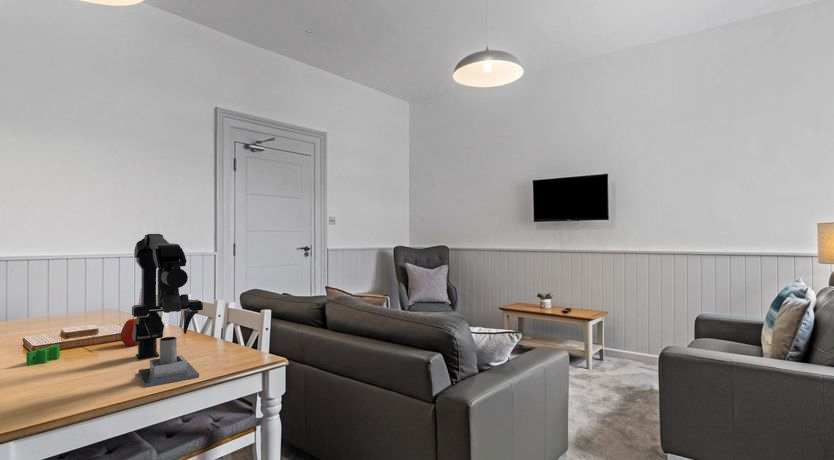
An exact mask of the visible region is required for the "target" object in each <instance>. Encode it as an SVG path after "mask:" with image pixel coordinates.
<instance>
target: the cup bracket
mask: <svg viewBox="0 0 834 460" xmlns="http://www.w3.org/2000/svg"><path fill="white" fill-rule="evenodd" d="M138 375H139V376H140V378H141V381H142V382H143V384H144V387H146V388H149V387H154V386H161V385H164V384H165V385H166V384H170V383H174V382H180V381H186V380H190V379H195V378H200V373H199V372H198V371H197V370H196V369H195V368H194V367H193V366H192V365H191V364H190V362H188V361H187V359H185V357H184V356H182V354H179V355H178V354H177V362H174V363H168V364H162V365H160V357H159V358H154V359H153V358H151V359H149V367H148V368H143V369H138Z"/></svg>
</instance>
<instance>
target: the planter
mask: <svg viewBox="0 0 834 460" xmlns="http://www.w3.org/2000/svg"><path fill="white" fill-rule="evenodd" d="M177 345H178V344H177V337H176V336H167V337H162V338H159V358H160V365H162V364H168V363H174V362H177V356H178V354H177V353H178V352H177V351H178V350H177Z"/></svg>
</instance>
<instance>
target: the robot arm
mask: <svg viewBox="0 0 834 460" xmlns="http://www.w3.org/2000/svg"><path fill="white" fill-rule="evenodd" d="M133 253H134V254H133V255H134V258H135V260H136V261H135V262H136V264H137V265H138V266H139V268H140V269H141V304H134V305H133V306H132V307H131V315H132V316H133V318H134V317H135V319H136V324H135V325H134V328H133V332H132V338H133V340H134V341H135V342H137V341H138V345H137V354H135V357H136V359H137V360H143V359H144V360H145V359H152V358H157V357H160V353H158V350H157V349H158V345H157V344H158V343H157V342H158V341H157V340H158V339H161V338H164V330H165V329H164V328H165V324H164V322H163V321H162V317H161V315H160V314H159V313H158V312H163V313H164V314H169V313H172V312H173V313H174V312H177V313H179V312H182V310H184V312H183V313H184V314H183V315H184V317H183V334H184V335H186V334H187V331H188V329H189V325H190V323H191V320H192V318H193V317H194V316H195V315H196V314H198V313H199V311H203V310H204V304H203V302H202V301H201V300H200V299H190V298H189V294H187V293H185V294H181V295H180V290H179V288H182V287H184V286H185V285H186V284H187V282H188V280H189V276H188V273H187V272H186V271H185V270H184V269H182V268H181V267H186V266H187V265H186V264H187V258H186V255H185V252H184V250H183V248H182V247H181V245H180V244H178V243H171V242H169V241H168V240H166V239H165V238H164V236H163V234H161V233H147V234H145V235H144V237H143V238H142V239H141V240H139V241H137V242H136V244H135V246H134V251H133ZM137 336H139V337H137Z"/></svg>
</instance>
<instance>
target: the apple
mask: <svg viewBox="0 0 834 460" xmlns="http://www.w3.org/2000/svg"><path fill="white" fill-rule="evenodd" d="M135 324H136V318H131V319H128V320H126V322H125V323H124V325H123V327H122V329H121V331H120V339H121V342H122V343H123V344H124V346H127V347H134V346H138V341H137V342H135V341H134V340H133V338H132V332H133V328H134V325H135ZM137 337H139V336H137Z"/></svg>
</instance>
